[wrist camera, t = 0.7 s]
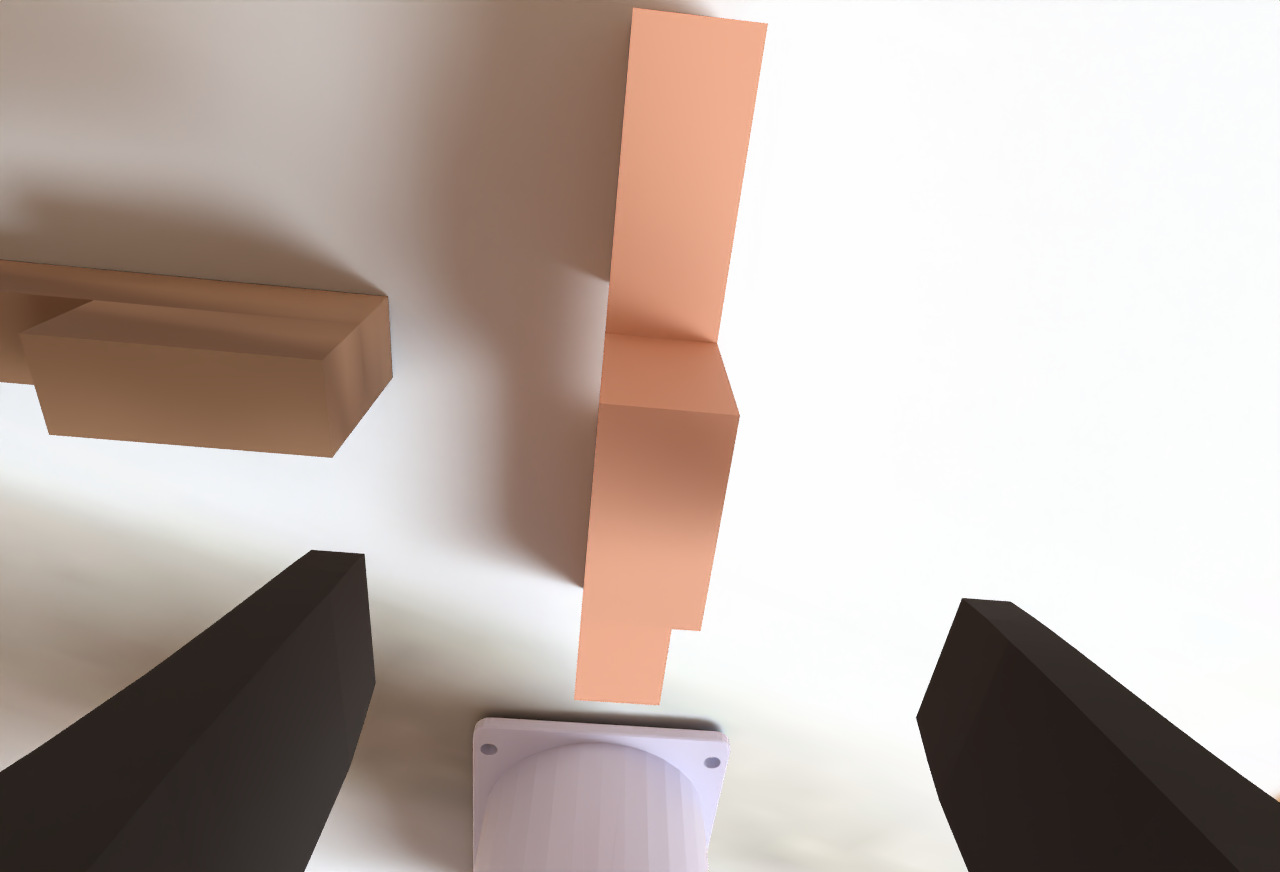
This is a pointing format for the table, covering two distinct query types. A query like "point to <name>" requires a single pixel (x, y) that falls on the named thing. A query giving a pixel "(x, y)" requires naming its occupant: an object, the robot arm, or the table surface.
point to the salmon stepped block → (665, 348)
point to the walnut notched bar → (193, 358)
